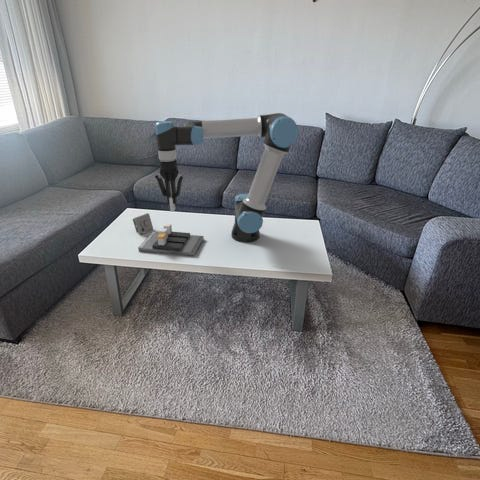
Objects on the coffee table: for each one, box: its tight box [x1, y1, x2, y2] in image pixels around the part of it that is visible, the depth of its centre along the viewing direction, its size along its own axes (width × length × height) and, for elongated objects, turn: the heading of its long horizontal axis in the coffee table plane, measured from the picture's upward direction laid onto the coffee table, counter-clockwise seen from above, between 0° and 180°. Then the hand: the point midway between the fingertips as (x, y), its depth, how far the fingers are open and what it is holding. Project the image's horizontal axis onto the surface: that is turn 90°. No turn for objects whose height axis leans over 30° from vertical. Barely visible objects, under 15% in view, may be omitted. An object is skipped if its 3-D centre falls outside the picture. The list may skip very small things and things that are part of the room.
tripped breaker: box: [157, 234, 166, 245], centre depth 159 cm, size 3×3×4 cm
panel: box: [137, 231, 205, 258], centre depth 166 cm, size 28×18×4 cm, turn 81°
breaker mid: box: [158, 227, 168, 239], centre depth 165 cm, size 3×3×4 cm
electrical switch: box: [132, 213, 154, 235], centre depth 179 cm, size 9×5×9 cm, turn 141°
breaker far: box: [163, 223, 173, 234], centre depth 170 cm, size 3×3×4 cm
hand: (172, 210), depth 153 cm, fingers closed
